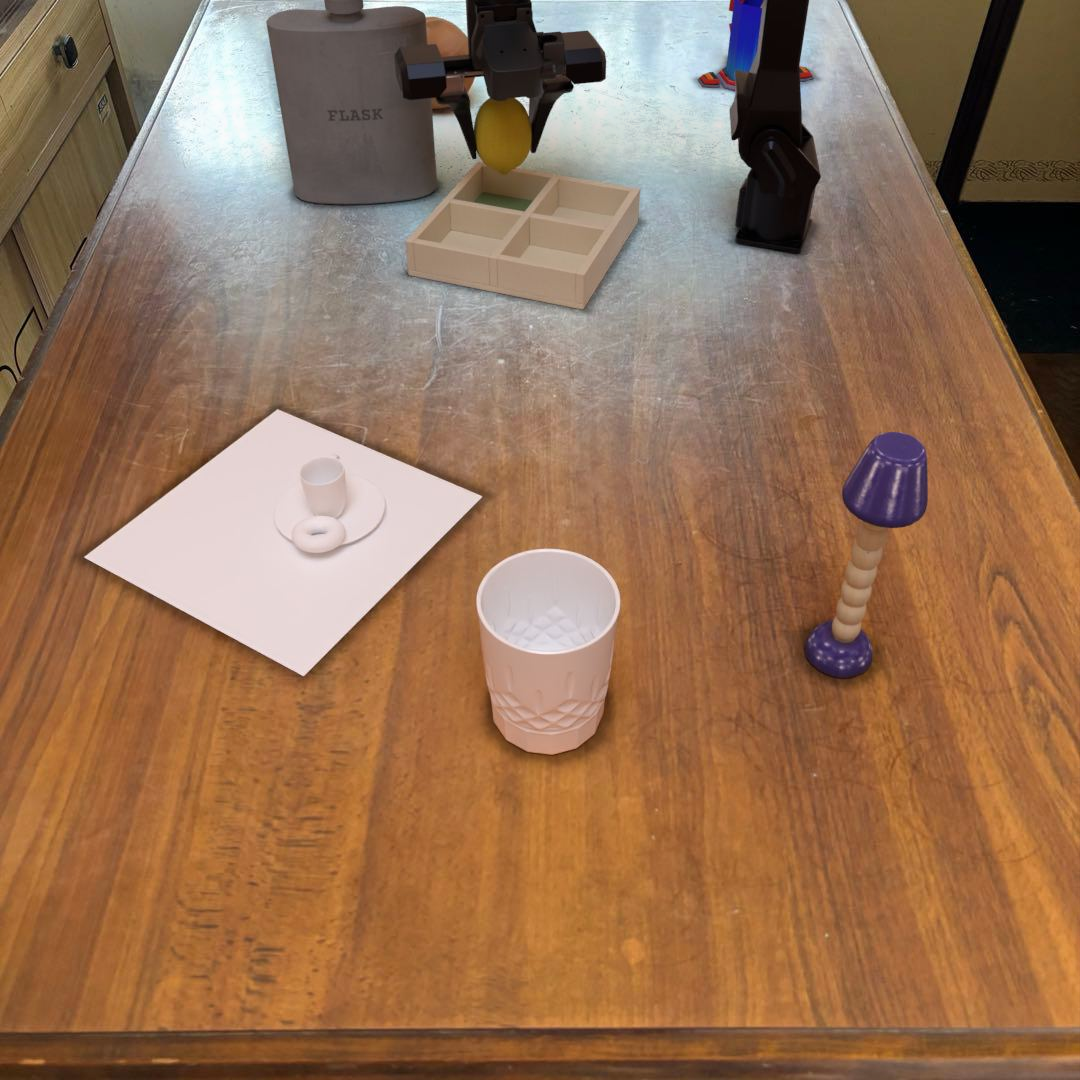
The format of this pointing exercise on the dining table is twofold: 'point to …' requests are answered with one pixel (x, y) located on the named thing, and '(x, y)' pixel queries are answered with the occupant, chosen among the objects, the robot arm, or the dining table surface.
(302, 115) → the flask
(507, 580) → the white cup
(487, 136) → the lemon
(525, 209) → the tray
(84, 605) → the dining table surface
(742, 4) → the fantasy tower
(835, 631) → the toy lamp
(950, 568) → the dining table surface
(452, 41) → the onion
